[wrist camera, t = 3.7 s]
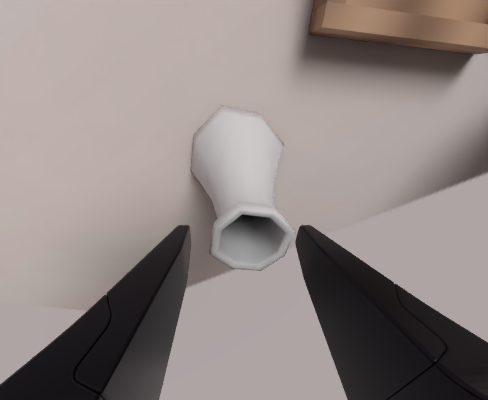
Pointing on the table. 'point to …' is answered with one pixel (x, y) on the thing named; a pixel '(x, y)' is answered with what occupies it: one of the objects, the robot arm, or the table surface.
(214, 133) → the flask
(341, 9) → the tray
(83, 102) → the table surface
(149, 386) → the robot arm
